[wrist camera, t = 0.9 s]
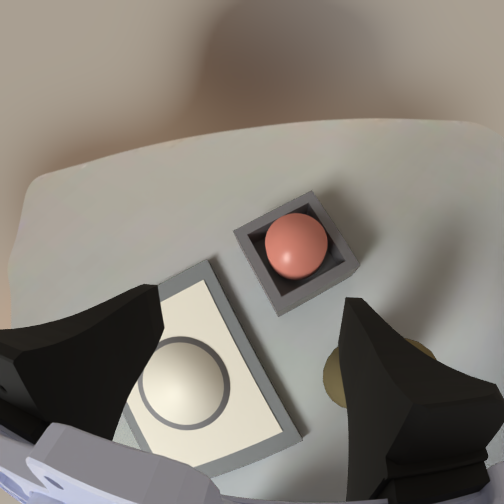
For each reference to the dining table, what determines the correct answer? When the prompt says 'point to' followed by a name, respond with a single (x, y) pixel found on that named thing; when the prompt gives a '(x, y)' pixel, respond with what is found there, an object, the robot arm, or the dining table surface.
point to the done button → (296, 246)
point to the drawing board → (206, 384)
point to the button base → (296, 291)
